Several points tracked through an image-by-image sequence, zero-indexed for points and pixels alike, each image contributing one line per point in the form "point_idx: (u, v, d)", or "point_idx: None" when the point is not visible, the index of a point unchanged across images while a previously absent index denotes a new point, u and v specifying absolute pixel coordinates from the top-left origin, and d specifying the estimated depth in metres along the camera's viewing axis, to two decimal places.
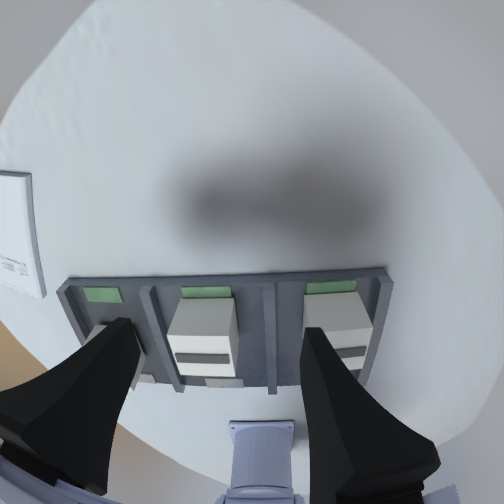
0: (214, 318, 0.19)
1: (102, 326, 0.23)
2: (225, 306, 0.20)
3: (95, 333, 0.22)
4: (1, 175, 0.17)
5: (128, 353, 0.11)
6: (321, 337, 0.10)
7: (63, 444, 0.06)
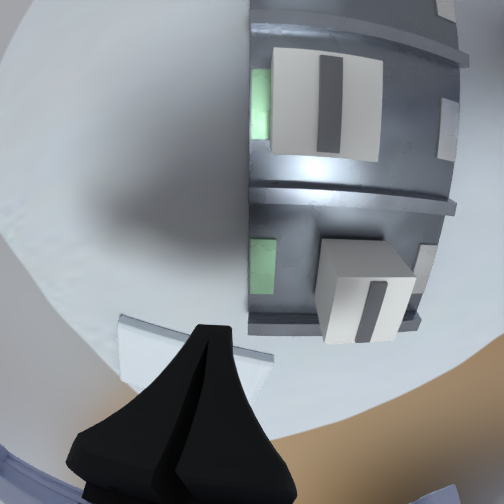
0: None
1: (316, 288, 0.17)
2: (271, 72, 0.11)
3: (318, 302, 0.16)
4: (118, 351, 0.22)
5: None
6: (223, 336, 0.10)
7: (176, 476, 0.05)
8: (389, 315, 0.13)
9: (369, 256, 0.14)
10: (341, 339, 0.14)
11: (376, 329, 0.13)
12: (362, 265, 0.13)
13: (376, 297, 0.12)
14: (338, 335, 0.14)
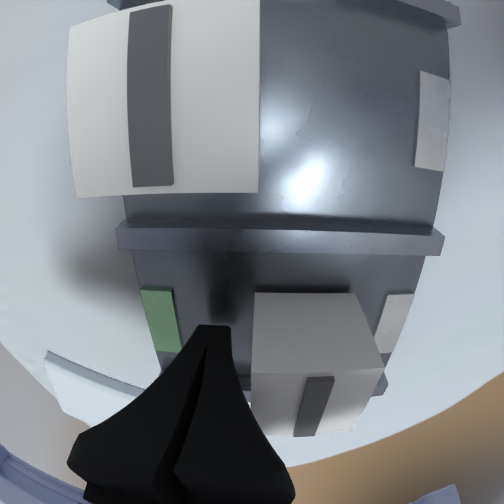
0: None
1: None
2: None
3: None
4: (52, 385, 0.17)
5: None
6: (222, 335, 0.10)
7: (177, 476, 0.05)
8: (342, 410, 0.09)
9: (317, 327, 0.09)
10: (273, 431, 0.09)
11: (323, 422, 0.09)
12: (300, 346, 0.09)
13: (317, 396, 0.08)
14: (268, 428, 0.09)
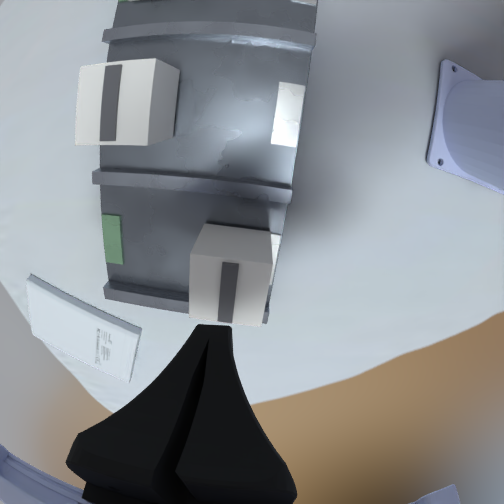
0: None
1: None
2: None
3: None
4: (28, 305, 0.22)
5: None
6: (223, 336, 0.10)
7: (176, 476, 0.05)
8: (249, 299, 0.15)
9: (237, 242, 0.16)
10: (204, 315, 0.16)
11: (238, 311, 0.15)
12: (223, 247, 0.15)
13: (229, 278, 0.14)
14: (200, 311, 0.15)
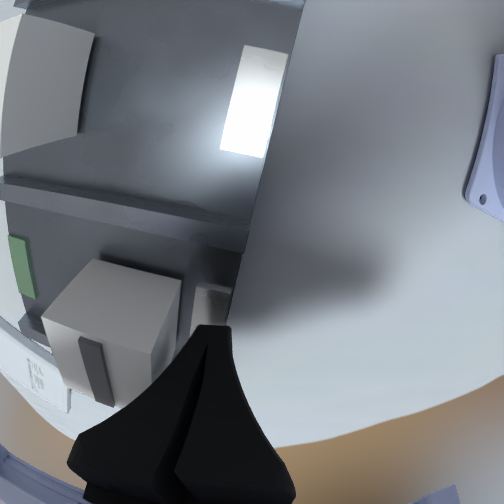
0: None
1: None
2: None
3: None
4: None
5: None
6: (222, 336, 0.10)
7: (177, 476, 0.05)
8: (128, 388, 0.09)
9: (117, 299, 0.09)
10: (81, 389, 0.09)
11: (119, 396, 0.09)
12: (90, 309, 0.08)
13: (92, 359, 0.08)
14: (75, 384, 0.09)
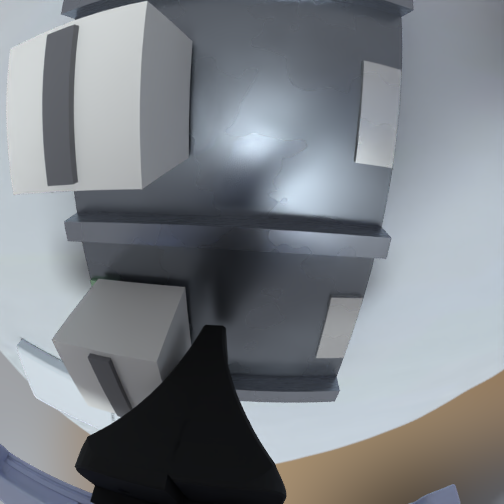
0: None
1: None
2: None
3: None
4: (25, 371, 0.17)
5: None
6: (216, 335, 0.10)
7: None
8: None
9: (123, 313, 0.09)
10: (102, 406, 0.09)
11: None
12: (97, 326, 0.09)
13: (104, 374, 0.08)
14: (96, 401, 0.09)
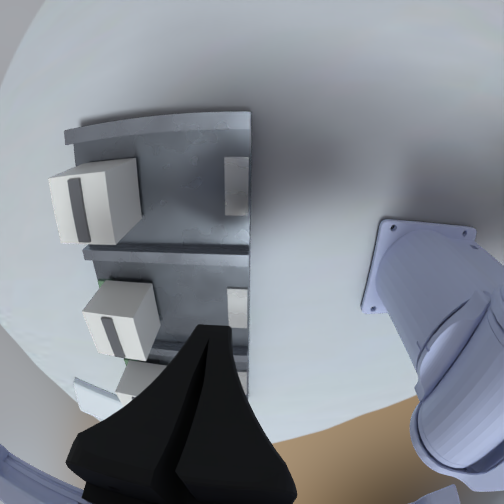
0: None
1: None
2: None
3: None
4: (76, 395, 0.30)
5: None
6: (223, 336, 0.10)
7: (176, 476, 0.05)
8: None
9: (143, 379, 0.23)
10: None
11: None
12: (133, 385, 0.22)
13: None
14: None
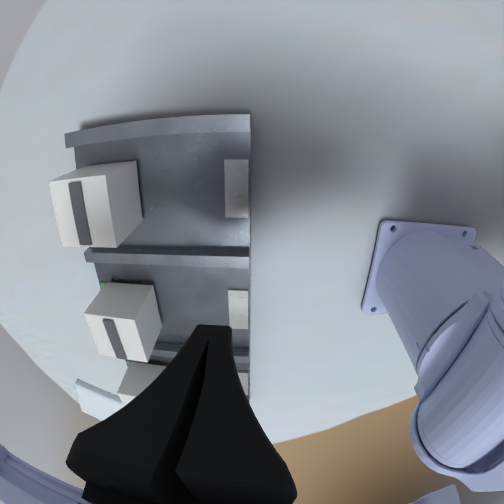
0: None
1: None
2: None
3: None
4: (78, 396, 0.30)
5: None
6: (223, 336, 0.10)
7: (176, 476, 0.05)
8: None
9: (145, 380, 0.23)
10: None
11: None
12: (135, 386, 0.22)
13: None
14: None
